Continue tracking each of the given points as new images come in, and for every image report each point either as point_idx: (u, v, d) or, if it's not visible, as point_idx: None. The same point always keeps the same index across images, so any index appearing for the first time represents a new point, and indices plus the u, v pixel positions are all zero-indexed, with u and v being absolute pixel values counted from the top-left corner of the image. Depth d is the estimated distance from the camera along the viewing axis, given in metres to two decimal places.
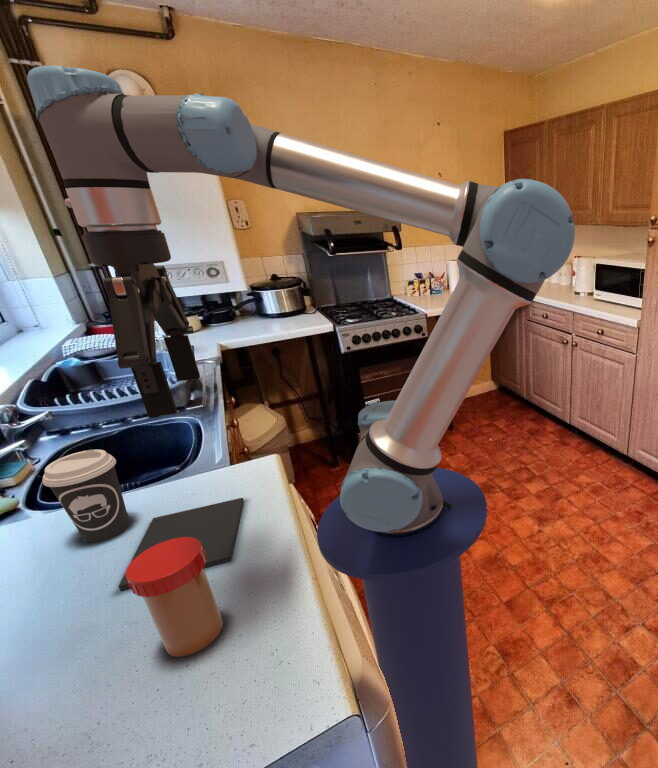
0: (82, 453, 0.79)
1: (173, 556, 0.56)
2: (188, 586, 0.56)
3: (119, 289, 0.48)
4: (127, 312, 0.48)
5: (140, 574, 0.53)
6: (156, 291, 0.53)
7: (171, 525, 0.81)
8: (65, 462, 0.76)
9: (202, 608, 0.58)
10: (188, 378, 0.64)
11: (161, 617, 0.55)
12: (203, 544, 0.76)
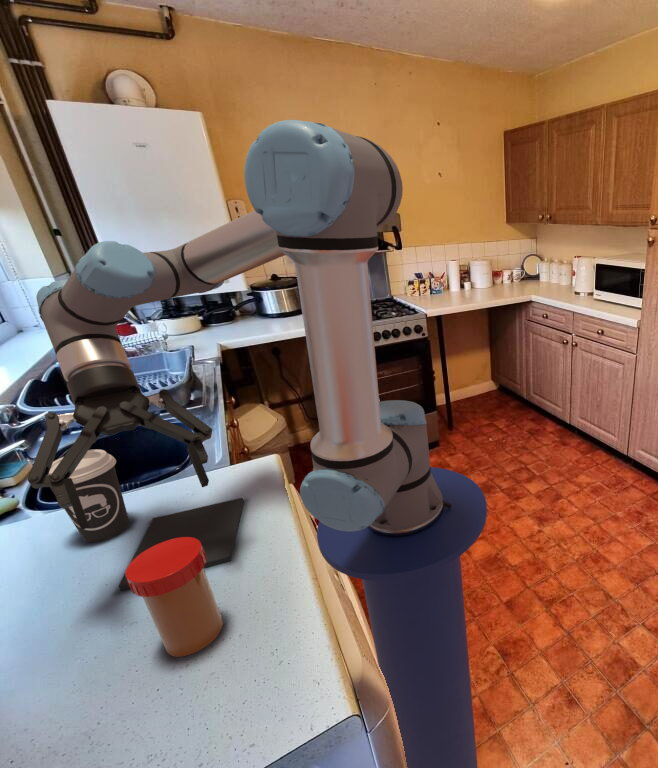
0: None
1: (173, 556, 0.56)
2: (188, 586, 0.56)
3: None
4: None
5: (140, 574, 0.53)
6: (97, 416, 0.61)
7: (171, 525, 0.81)
8: None
9: (202, 608, 0.58)
10: (201, 483, 0.66)
11: (161, 617, 0.55)
12: (203, 544, 0.76)
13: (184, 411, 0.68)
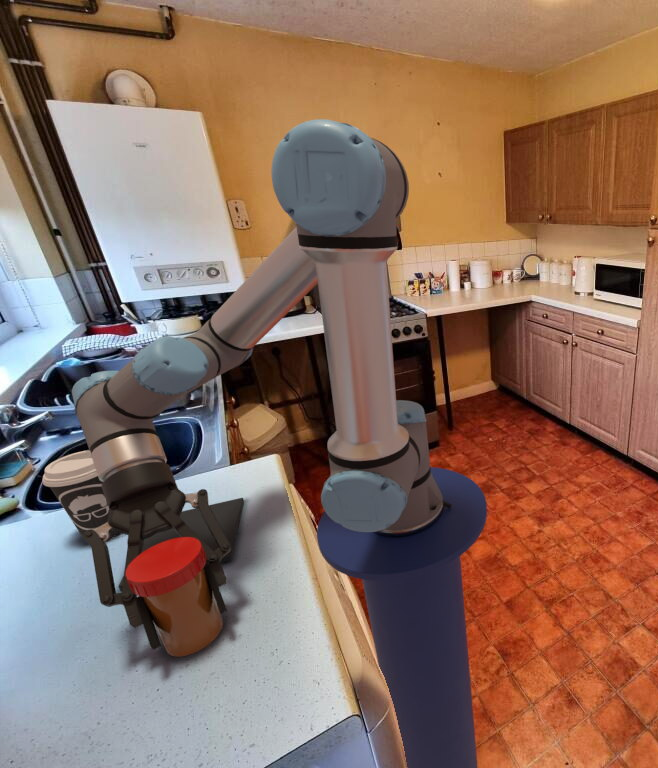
0: (82, 453, 0.79)
1: (173, 556, 0.56)
2: (188, 586, 0.56)
3: None
4: None
5: (140, 574, 0.53)
6: (131, 521, 0.58)
7: None
8: (65, 462, 0.76)
9: (202, 608, 0.58)
10: None
11: (161, 617, 0.55)
12: None
13: (212, 519, 0.62)
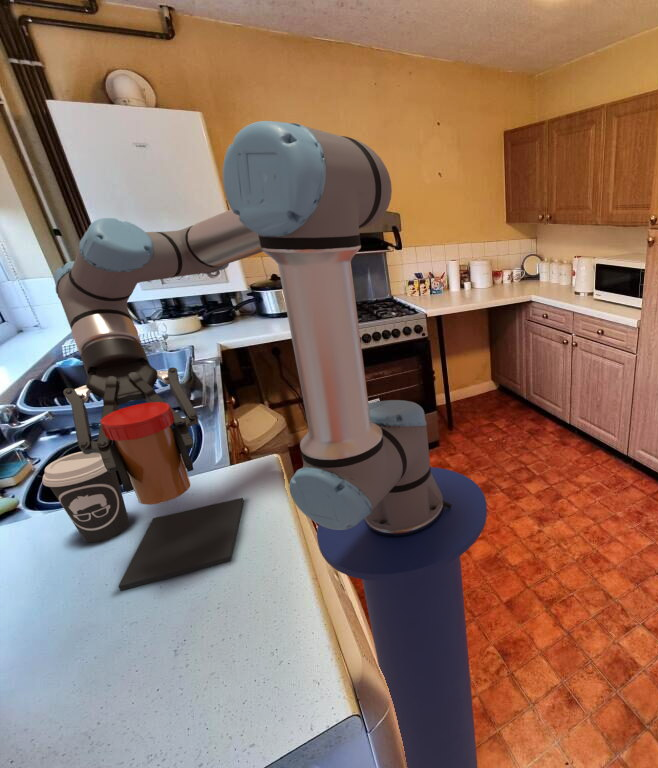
0: (82, 453, 0.79)
1: (143, 412, 0.63)
2: (157, 438, 0.63)
3: (69, 401, 0.63)
4: None
5: (113, 421, 0.61)
6: (107, 385, 0.65)
7: (171, 525, 0.81)
8: (65, 462, 0.76)
9: (170, 462, 0.65)
10: (186, 467, 0.66)
11: (132, 463, 0.62)
12: (203, 544, 0.76)
13: (181, 392, 0.70)
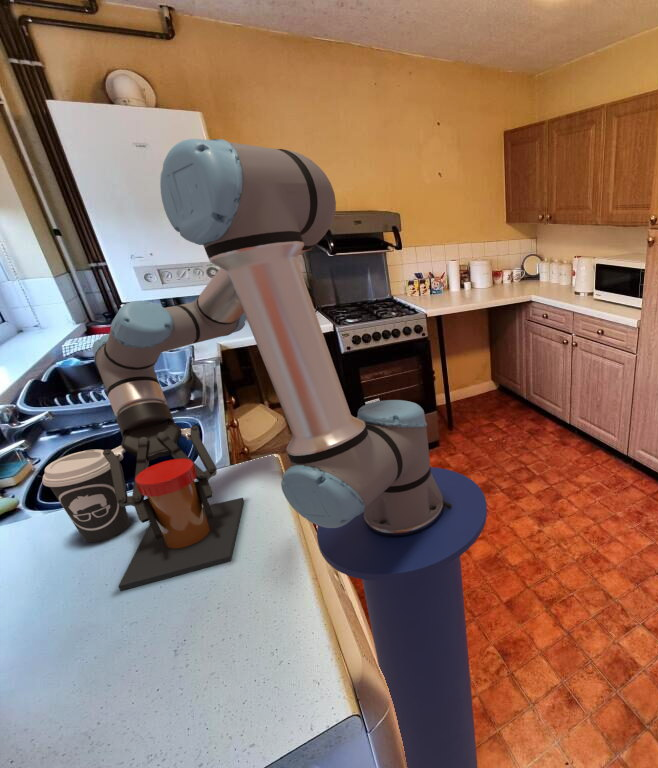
0: (82, 453, 0.79)
1: (171, 469, 0.73)
2: (183, 492, 0.73)
3: (107, 460, 0.73)
4: None
5: (146, 479, 0.71)
6: (139, 445, 0.75)
7: None
8: (65, 462, 0.76)
9: (193, 511, 0.75)
10: (207, 516, 0.76)
11: (162, 514, 0.72)
12: (203, 544, 0.76)
13: (202, 447, 0.80)
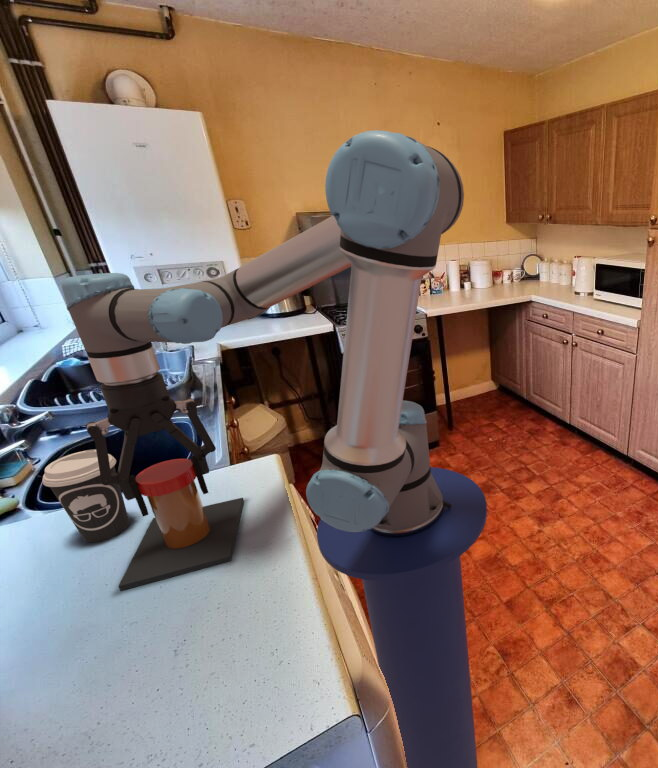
0: (82, 453, 0.79)
1: (171, 469, 0.73)
2: (183, 492, 0.73)
3: None
4: (96, 449, 0.66)
5: (146, 479, 0.71)
6: (131, 427, 0.67)
7: None
8: (65, 462, 0.76)
9: (193, 511, 0.75)
10: None
11: (162, 514, 0.72)
12: (203, 544, 0.76)
13: (201, 427, 0.74)
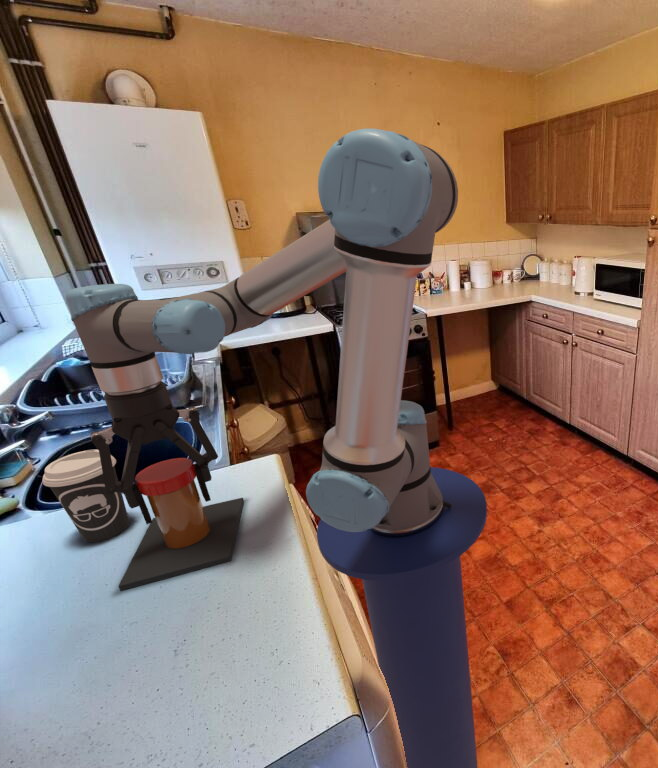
0: (82, 453, 0.79)
1: (167, 467, 0.74)
2: (183, 492, 0.73)
3: None
4: (100, 458, 0.67)
5: (175, 473, 0.72)
6: (135, 436, 0.68)
7: None
8: (65, 462, 0.76)
9: (194, 511, 0.75)
10: None
11: (162, 514, 0.72)
12: (203, 544, 0.76)
13: (203, 435, 0.75)
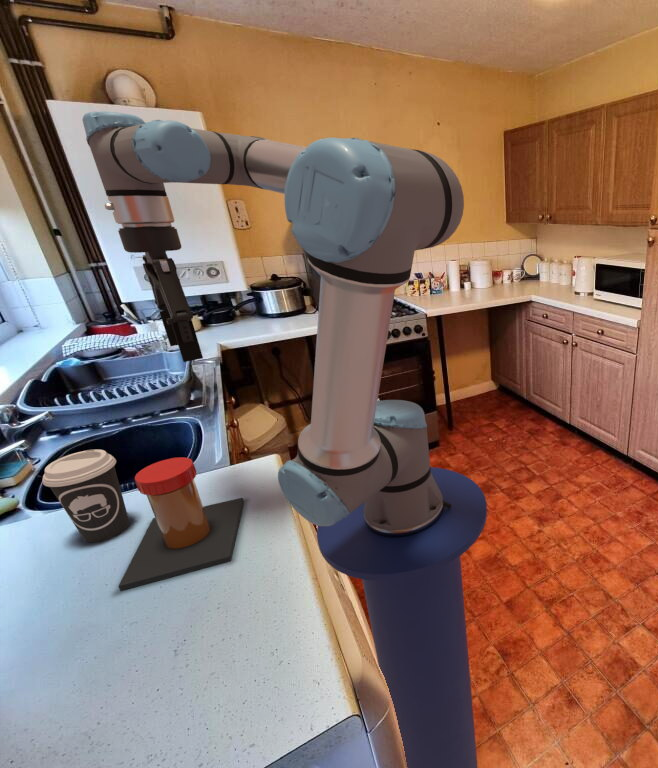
0: (82, 453, 0.79)
1: (158, 470, 0.73)
2: (183, 492, 0.73)
3: (165, 267, 0.68)
4: (172, 283, 0.68)
5: (181, 460, 0.75)
6: (176, 270, 0.73)
7: None
8: (65, 462, 0.76)
9: (194, 511, 0.75)
10: None
11: (162, 514, 0.72)
12: (203, 544, 0.76)
13: None
